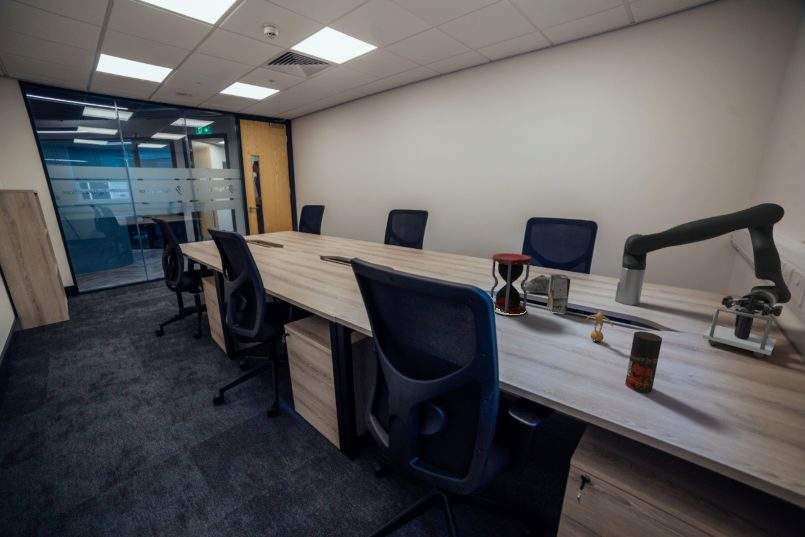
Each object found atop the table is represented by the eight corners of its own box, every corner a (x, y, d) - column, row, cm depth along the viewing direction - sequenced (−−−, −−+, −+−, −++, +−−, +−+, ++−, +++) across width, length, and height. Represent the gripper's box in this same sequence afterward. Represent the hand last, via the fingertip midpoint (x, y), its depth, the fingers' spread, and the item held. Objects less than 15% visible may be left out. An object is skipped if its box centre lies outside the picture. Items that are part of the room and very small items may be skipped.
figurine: (610, 342, 115) (615, 310, 112) (608, 348, 110) (614, 315, 107) (583, 336, 119) (588, 305, 117) (581, 342, 115) (586, 310, 112)
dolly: (701, 344, 114) (709, 306, 111) (710, 333, 123) (718, 298, 119) (768, 362, 101) (780, 320, 98) (773, 349, 110) (784, 310, 107)
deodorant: (620, 381, 91) (628, 331, 87) (639, 380, 91) (649, 331, 88) (636, 393, 85) (646, 341, 82) (657, 392, 85) (668, 340, 82)
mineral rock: (522, 292, 174) (524, 274, 171) (529, 288, 182) (530, 270, 179) (547, 297, 165) (549, 278, 163) (553, 292, 173) (555, 274, 171)
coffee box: (566, 315, 141) (571, 279, 137) (551, 313, 142) (555, 278, 139) (561, 308, 150) (565, 274, 146) (546, 307, 151) (550, 273, 147)
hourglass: (486, 313, 142) (490, 258, 137) (491, 302, 157) (494, 252, 151) (525, 318, 136) (530, 261, 131) (526, 306, 151) (531, 254, 145)
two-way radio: (749, 341, 108) (760, 298, 105) (731, 337, 111) (741, 295, 107) (746, 335, 112) (756, 294, 109) (728, 332, 115) (737, 292, 112)
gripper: (734, 286, 124) (719, 293, 115) (790, 296, 112) (779, 304, 103) (729, 305, 125) (715, 313, 117) (784, 317, 114) (773, 326, 105)
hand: (745, 309), depth 110 cm, fingers open, 8 cm apart
